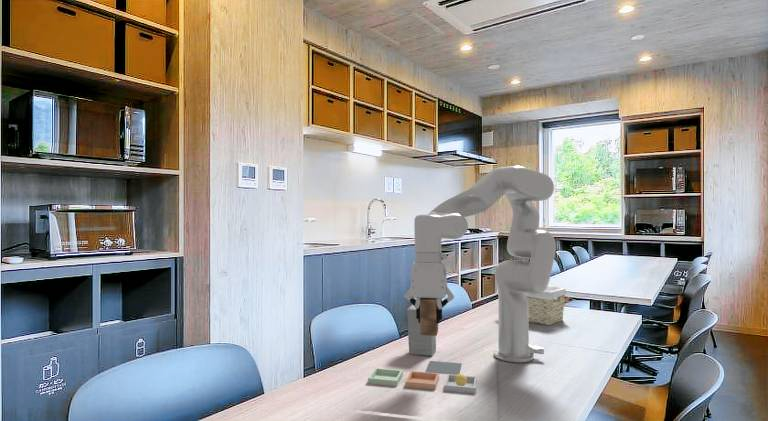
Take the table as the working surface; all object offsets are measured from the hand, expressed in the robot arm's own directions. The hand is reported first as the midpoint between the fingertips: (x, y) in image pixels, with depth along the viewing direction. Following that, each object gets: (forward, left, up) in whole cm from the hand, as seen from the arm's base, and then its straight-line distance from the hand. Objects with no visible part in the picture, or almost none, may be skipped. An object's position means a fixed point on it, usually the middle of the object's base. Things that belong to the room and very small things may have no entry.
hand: (429, 321), depth 126 cm
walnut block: (0, 0, -3) cm, 3 cm away
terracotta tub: (+1, +4, -17) cm, 17 cm away
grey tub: (-9, +4, -17) cm, 19 cm away
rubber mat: (-3, -9, -17) cm, 20 cm away
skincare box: (+6, -23, -17) cm, 30 cm away
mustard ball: (-9, +4, -15) cm, 18 cm away
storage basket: (-35, -81, -17) cm, 90 cm away
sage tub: (+12, +4, -17) cm, 21 cm away
